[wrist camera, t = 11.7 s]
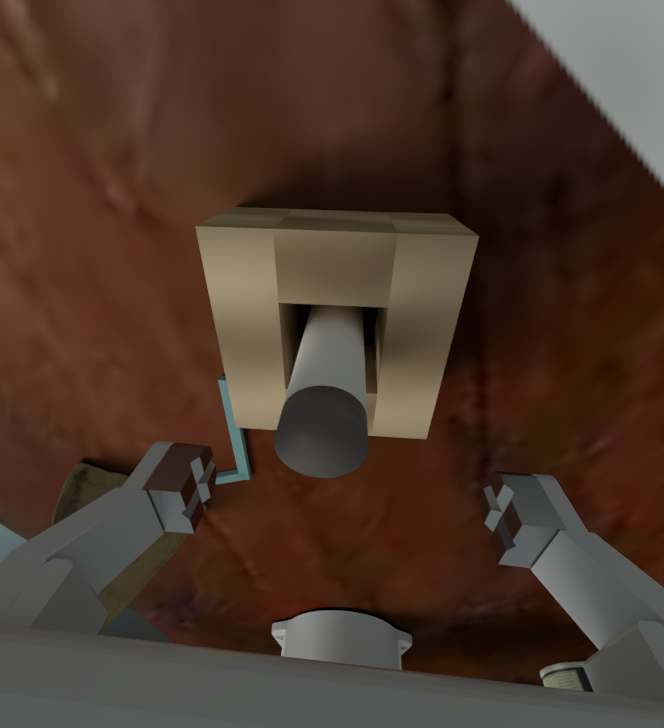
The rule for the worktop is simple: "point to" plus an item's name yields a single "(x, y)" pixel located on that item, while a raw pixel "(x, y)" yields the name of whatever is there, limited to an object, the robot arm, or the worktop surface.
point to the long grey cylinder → (326, 397)
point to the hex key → (233, 442)
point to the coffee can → (566, 676)
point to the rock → (128, 584)
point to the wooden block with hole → (336, 302)
